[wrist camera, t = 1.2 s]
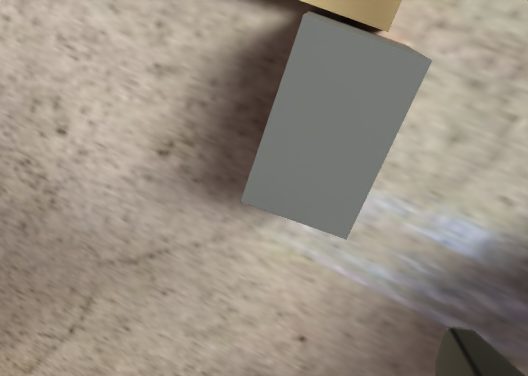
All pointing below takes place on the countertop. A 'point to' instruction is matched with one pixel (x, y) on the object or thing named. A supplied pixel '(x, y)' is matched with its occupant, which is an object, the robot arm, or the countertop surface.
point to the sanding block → (332, 123)
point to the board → (362, 10)
